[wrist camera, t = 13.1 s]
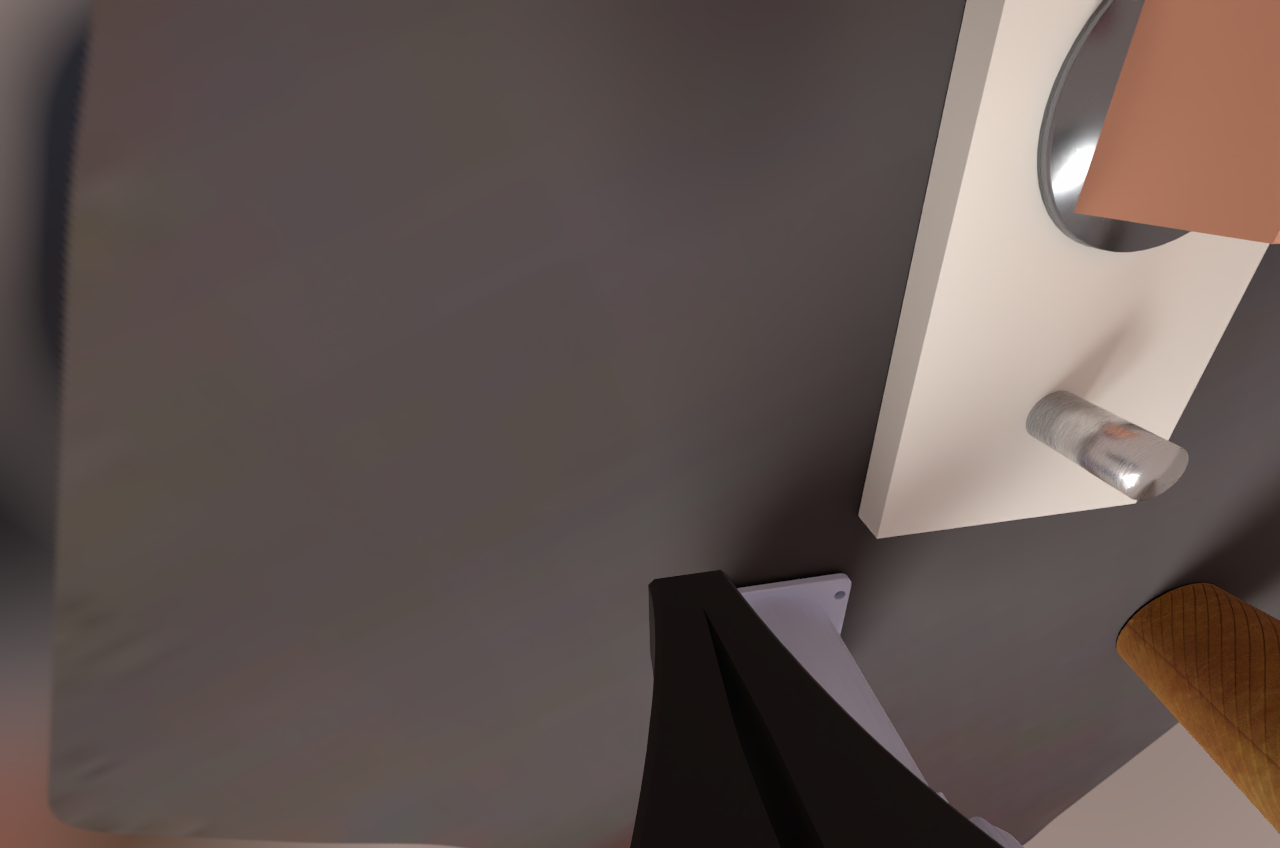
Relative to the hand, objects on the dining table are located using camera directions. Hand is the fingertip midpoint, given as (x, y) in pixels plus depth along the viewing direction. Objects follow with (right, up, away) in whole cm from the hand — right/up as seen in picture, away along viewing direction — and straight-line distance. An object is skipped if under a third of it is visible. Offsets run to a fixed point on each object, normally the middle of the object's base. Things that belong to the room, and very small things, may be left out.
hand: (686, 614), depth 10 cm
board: (+14, +9, +9) cm, 19 cm away
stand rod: (+14, +4, +10) cm, 18 cm away
